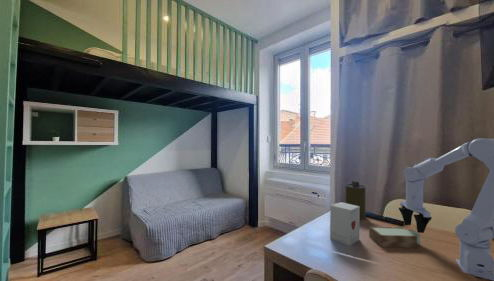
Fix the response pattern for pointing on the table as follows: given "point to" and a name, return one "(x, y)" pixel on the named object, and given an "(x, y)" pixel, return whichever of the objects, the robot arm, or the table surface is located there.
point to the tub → (392, 239)
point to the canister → (356, 196)
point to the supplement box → (344, 223)
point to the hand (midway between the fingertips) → (413, 228)
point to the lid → (398, 232)
